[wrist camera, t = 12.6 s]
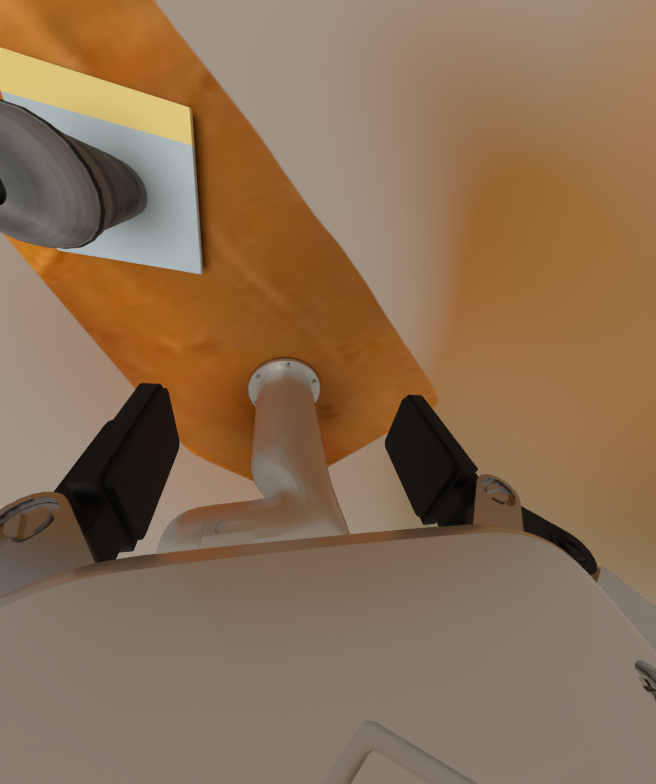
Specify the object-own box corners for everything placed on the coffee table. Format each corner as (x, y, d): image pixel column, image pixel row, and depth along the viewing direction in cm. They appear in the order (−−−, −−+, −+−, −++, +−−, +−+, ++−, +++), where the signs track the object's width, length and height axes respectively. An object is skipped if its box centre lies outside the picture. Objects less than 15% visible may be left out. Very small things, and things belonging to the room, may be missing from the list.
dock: (206, 268, 33) (201, 274, 31) (74, 245, 29) (57, 249, 27) (197, 115, 25) (189, 107, 23) (15, 58, 22) (-17, 42, 19)
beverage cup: (94, 228, 27) (-166, 273, 11) (57, 129, 22) (-461, -32, 7) (171, 235, 28) (39, 284, 12) (150, 143, 24) (-93, 38, 8)
